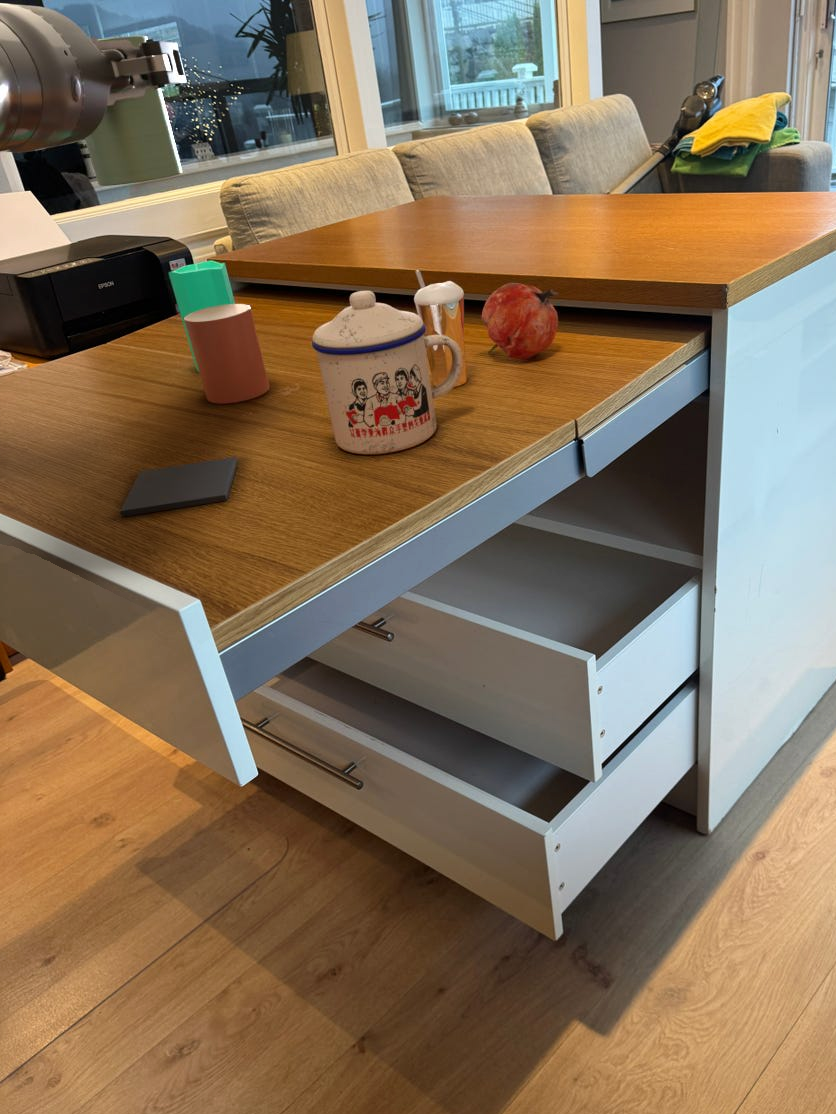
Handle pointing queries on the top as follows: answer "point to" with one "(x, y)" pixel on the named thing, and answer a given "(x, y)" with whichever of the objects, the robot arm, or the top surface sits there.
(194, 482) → the mat
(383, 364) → the teacup with lid
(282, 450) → the top surface
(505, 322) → the pomegranate
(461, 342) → the milkshake
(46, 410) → the top surface
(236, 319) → the lower tin
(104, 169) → the upper tin
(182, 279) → the candle
